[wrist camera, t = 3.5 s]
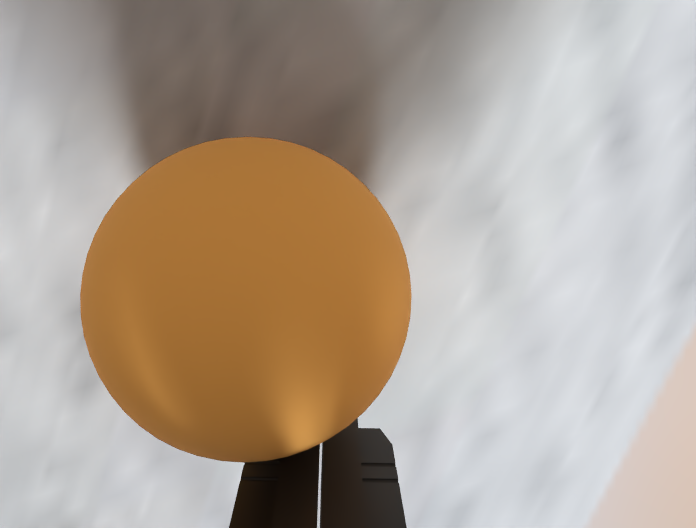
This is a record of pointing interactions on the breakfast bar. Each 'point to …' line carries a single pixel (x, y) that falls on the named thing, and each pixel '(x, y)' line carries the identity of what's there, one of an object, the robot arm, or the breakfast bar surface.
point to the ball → (245, 299)
